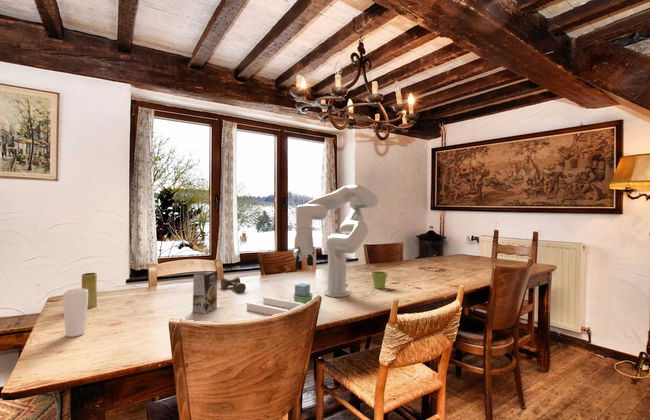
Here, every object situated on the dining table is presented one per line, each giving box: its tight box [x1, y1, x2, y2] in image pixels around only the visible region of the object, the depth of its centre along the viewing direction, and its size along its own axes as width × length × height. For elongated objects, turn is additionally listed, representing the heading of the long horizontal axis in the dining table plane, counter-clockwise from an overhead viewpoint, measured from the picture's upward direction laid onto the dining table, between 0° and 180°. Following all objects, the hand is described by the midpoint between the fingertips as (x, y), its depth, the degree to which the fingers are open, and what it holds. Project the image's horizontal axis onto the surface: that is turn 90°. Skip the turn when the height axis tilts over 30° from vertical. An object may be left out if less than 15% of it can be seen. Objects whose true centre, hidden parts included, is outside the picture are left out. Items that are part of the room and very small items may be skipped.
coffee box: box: [192, 270, 218, 314], centre depth 141 cm, size 9×6×16 cm
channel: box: [246, 295, 305, 316], centre depth 142 cm, size 13×22×3 cm, turn 61°
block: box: [294, 282, 311, 296], centre depth 153 cm, size 5×5×4 cm
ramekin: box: [293, 292, 314, 304], centre depth 153 cm, size 9×9×4 cm
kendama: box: [220, 276, 247, 294], centre depth 178 cm, size 6×10×20 cm
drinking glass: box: [62, 287, 88, 338], centre depth 112 cm, size 7×7×15 cm
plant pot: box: [370, 270, 389, 290], centre depth 186 cm, size 9×9×9 cm
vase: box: [81, 272, 98, 309], centre depth 142 cm, size 6×6×14 cm
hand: (304, 267), depth 154 cm, fingers open, 9 cm apart
